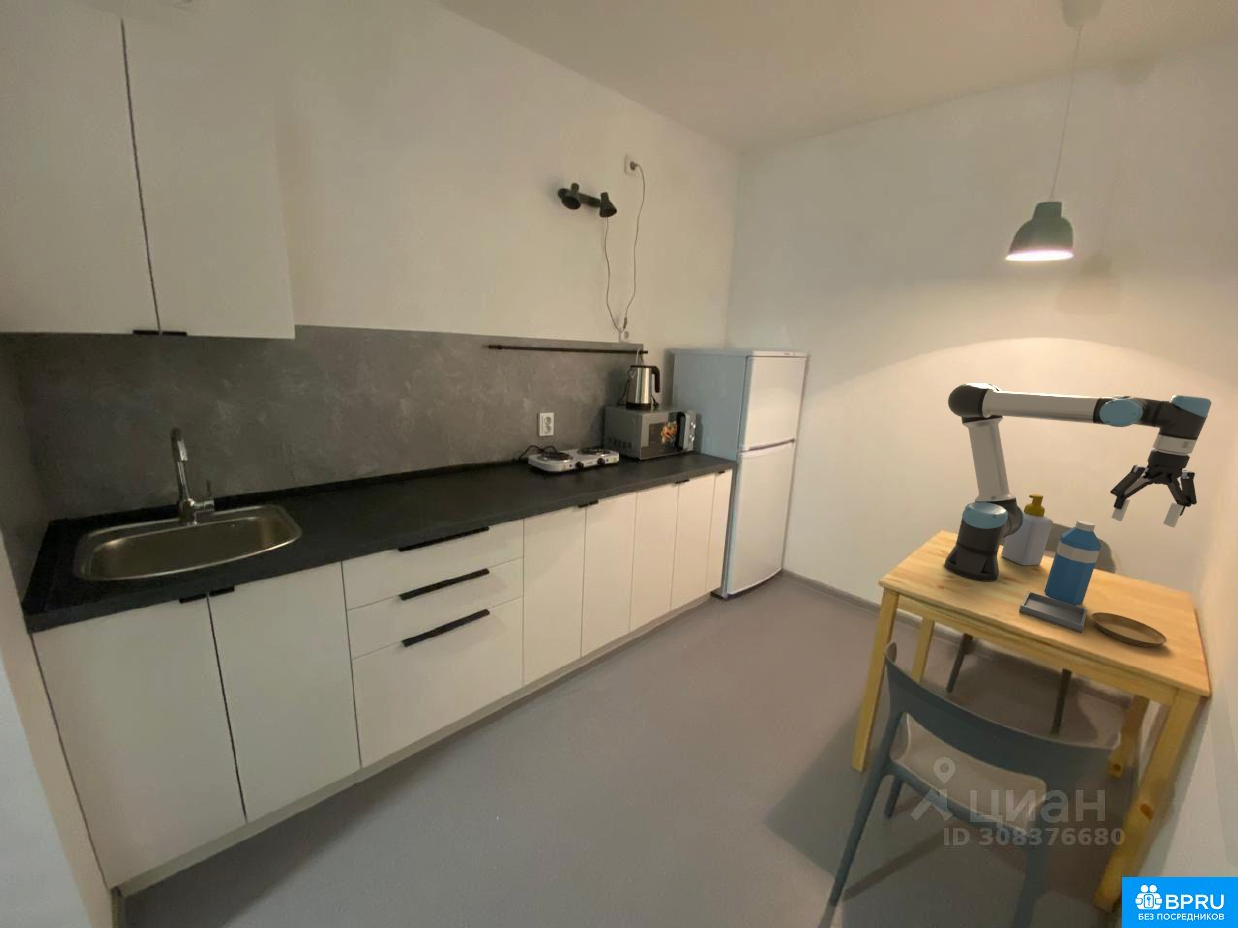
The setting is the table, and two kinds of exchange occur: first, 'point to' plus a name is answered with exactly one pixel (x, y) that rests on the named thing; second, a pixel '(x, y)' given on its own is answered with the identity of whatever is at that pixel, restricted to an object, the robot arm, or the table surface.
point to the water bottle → (1073, 564)
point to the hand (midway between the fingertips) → (1142, 522)
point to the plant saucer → (1128, 630)
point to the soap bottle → (1029, 535)
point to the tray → (1054, 611)
